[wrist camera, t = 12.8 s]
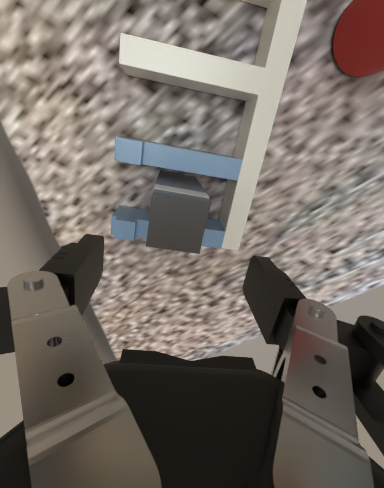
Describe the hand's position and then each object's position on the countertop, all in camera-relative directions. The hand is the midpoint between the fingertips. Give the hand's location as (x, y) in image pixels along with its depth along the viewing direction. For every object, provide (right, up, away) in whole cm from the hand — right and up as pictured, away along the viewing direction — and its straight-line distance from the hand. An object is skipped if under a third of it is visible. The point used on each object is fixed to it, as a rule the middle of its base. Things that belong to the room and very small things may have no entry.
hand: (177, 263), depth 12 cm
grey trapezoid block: (-1, +7, +16) cm, 18 cm away
